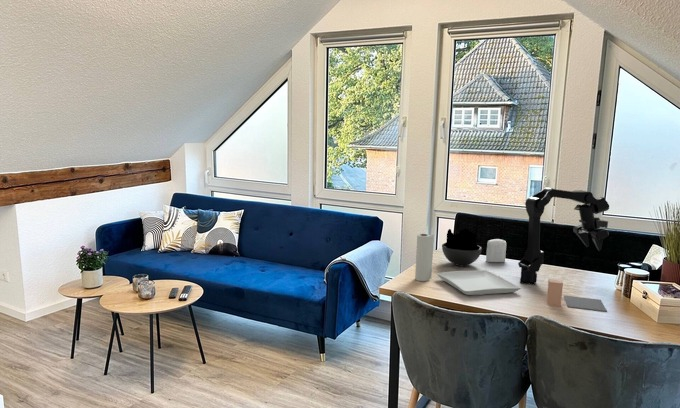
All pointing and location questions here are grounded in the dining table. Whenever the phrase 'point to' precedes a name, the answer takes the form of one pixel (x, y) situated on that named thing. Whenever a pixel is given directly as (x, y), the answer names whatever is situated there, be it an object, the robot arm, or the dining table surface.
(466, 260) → the coal bowl
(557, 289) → the terracotta block
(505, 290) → the square plate
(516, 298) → the dining table surface
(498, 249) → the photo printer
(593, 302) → the rubber mat
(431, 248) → the paper towel roll
